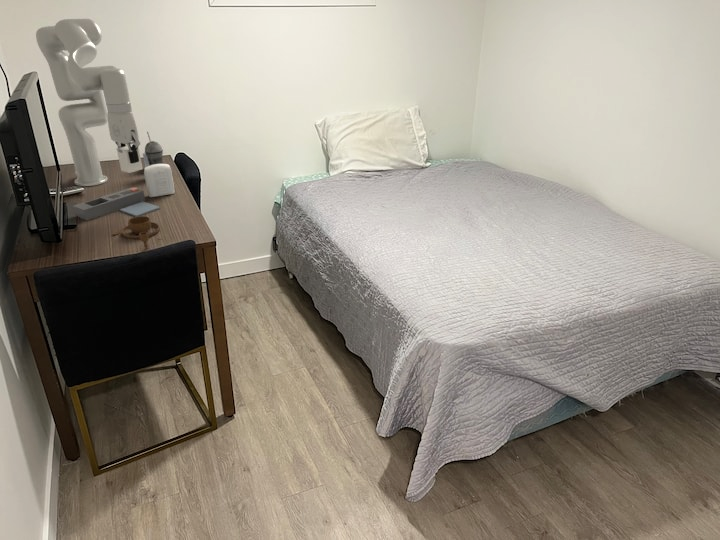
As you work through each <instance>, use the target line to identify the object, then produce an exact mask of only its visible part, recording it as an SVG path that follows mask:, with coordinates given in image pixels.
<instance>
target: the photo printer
mask: <svg viewBox="0 0 720 540" xmlns="http://www.w3.org/2000/svg"><path fill="white" fill-rule="evenodd" d="M143 175H144V179H145V186H146V191H147V196H148V197H149V198H155V197H162V196H166V195H173V194H176V193H175V192H176V191H175V184H174V179H173V172H172V167H171V166H170V165H169V164H167V163H163V164H154V165H150V166H148V167H146V168H145V167H144V168H143Z"/></svg>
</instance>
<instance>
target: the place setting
mask: <svg viewBox="0 0 720 540" xmlns="http://www.w3.org/2000/svg"><path fill="white" fill-rule="evenodd" d="M151 227H153V228H155V229H156V230H154V231H152V232H149V233H148V231H150V229H151ZM160 228H161V227H160V224H158V223H156V222H154V221H151V218H150V217H148V216H145V215H141V216H138V217H135V216H133V217H131V218H129V219H128V220H127V225H126V226H124V227H123V228H120V229H119V230H117V231H115V232H113V233H112V235H113V236H117V235H119V234H122V236H123V237H125V238H127V239H132V240H135V239H136V240H138V239H139V240H140V241H141V242H142V243H143V247H144V250H149V247H148V246H149V245H148V243H147V242H149V238H151V237H152V236H154V235H156V234H158V233H159V231H160ZM127 231H131V232H132V233H134V234H136V235H132V234H131V235H129V234H126V233H127ZM120 232H121V233H120ZM158 240H162V238H158Z"/></svg>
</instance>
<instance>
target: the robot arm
mask: <svg viewBox="0 0 720 540" xmlns="http://www.w3.org/2000/svg"><path fill="white" fill-rule="evenodd" d="M35 39H36V43H37V46H38V48H39V50H40V51H41V53H42V55H43V57H44V59H45V60H46V63H47V65H48V67H49V70H50V75H51V77H52V81H53V84H54V88H55V91H56V93H57V96H58V98H59V99H60V100H62V101H64V102H71V101H82V100H89V102H83V103H82V102H81V103H80V102H79V103H75V104H68V105H67V104H66V105H64V106H62V107H60V109H59V110H58V118H59V121H60V123H61V126H62V127H63V130H64V133H65V135H66V138H67V139H66V140H67V143H68V146H69V149H70V150H69V151H70V154H71V156H72V157H71V158H72V161H73V165H74V169H75V171H74V174H75V175H76V177H77V178H76V179H74V184H75V185H76V186H79V187H92V186H98V185H102V184H105V183H106V182H107V181H108V176H107V175H104V174H103V171H102V167H101V163H100V158H99V153H98V150H97V145H96V140H95V139H94V137H93V136H92V134H90V132H89V133H88V132H87V131H86V129H89V128H96V127H101V126H105V125H106V124H108V132H109V136H110V139H111V140H112V141H113V142H115V145H116V146H117V148H121V147H125V146H128V149H129V152H128V154H129V159H130V163H136V162H139V157H138V152H137V151H138V148H139V147H140V145H141V141H140V140H139V139H140V137H139V134H138V133H139V131H138V129H137V124H136V123H137V122H136V121H135V117H134V115H133V110H132V106H131V104H132V103H131V100H130V99H131V98H130V94H129V89H128V83H127V79H126V75H125V72H124V70H123V69H121V68H117V67H116V66H114V65H102V66H100V65H99V66H88V67H87V65H89V64H90V63H92V62H93V61H94V60H95V59H96V57H97V54H98V53H97V52H98V51H97V47H96V46H98V45H99V44H100V43H101V41H102V31H101V28H100V27H99V25H98V24H97V23H96V22H95V21H94V20H93V19H90V18H67V19H65V18H64V19H61V20H59V21H57V22H56V23H55V25H51V26H50V25H48V26H44V27H40V28H38V29H37V30H36V32H35ZM66 52H68V54H67V53H66ZM131 145H132V147H131Z"/></svg>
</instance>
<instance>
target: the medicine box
mask: <svg viewBox="0 0 720 540" xmlns="http://www.w3.org/2000/svg"><path fill="white" fill-rule="evenodd" d="M142 156H143V162H144V168H146V167H148V166H149V162H148V158H147V156H146V153H145V151H144V152H143V153H142Z"/></svg>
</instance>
